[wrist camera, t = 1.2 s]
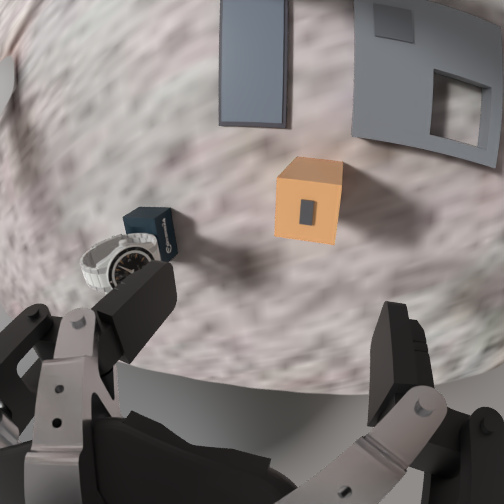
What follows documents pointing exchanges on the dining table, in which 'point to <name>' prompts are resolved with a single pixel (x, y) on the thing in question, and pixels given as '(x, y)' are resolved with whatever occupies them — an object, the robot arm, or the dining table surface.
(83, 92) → the dining table surface
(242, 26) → the phone
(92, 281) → the watch
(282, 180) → the block
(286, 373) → the dining table surface
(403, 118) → the outlet plate
